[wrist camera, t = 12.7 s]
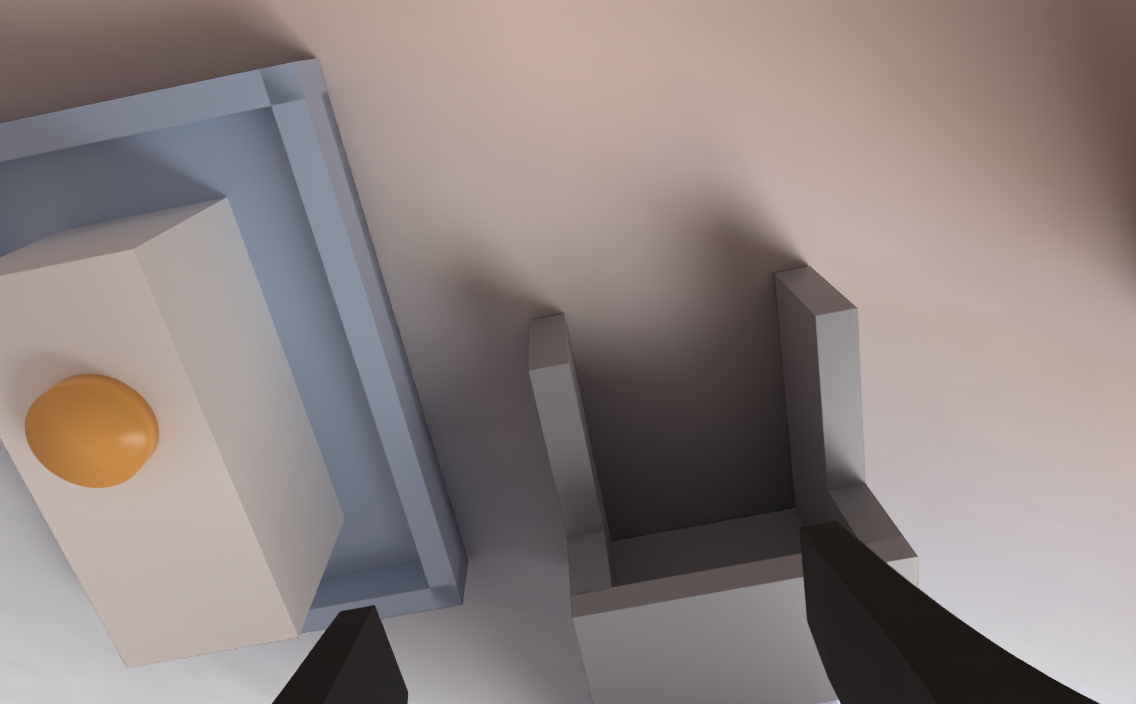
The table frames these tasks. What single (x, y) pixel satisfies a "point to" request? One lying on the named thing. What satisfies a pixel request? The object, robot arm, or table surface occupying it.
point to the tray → (273, 292)
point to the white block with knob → (165, 432)
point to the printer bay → (718, 532)
